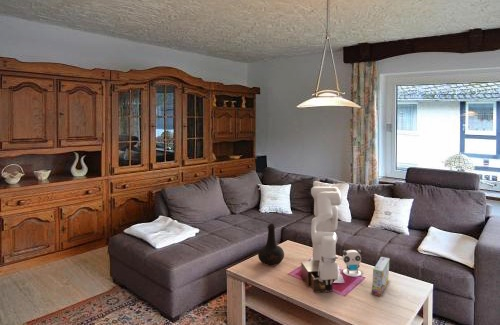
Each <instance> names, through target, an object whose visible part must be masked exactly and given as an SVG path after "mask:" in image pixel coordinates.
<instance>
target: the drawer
mask: <svg viewBox="0 0 500 325" xmlns="http://www.w3.org/2000/svg"><path fill="white" fill-rule="evenodd" d="M317 277H319V276H318V272H315V273H310V285H311V287H310V288H312V292H313V293H320V292H327V290H326V289H325V283H324V282H320V281H319V278H317ZM333 283H334V282H333ZM333 283H332V284H331V291H330V292H332V291H333V288H334V287H333V286H334V284H333Z"/></svg>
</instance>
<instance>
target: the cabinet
mask: <svg viewBox="0 0 500 325" xmlns="http://www.w3.org/2000/svg"><path fill="white" fill-rule="evenodd" d="M319 262H320V260H316V261H310V260H305V261H301V262H300V266H301V267H300V270H301V271H300V273H301V274H300V276H301V278H302V279H303V281H304V283H305V284H306V286H307V287H308V288H312V287H311V285H310V273H315V272H318V268H319Z"/></svg>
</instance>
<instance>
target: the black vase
mask: <svg viewBox="0 0 500 325" xmlns="http://www.w3.org/2000/svg"><path fill="white" fill-rule="evenodd" d="M276 228H277V227H276V225H275V224H274V223H268V225H267V238H266V239H267V240H266V243H265V244H264V245H263V246H261V247H260V248H259V250H258V252H257V257H258V260H259V261H260V262H261V263H262V264H263V265H265V266H270V267H273V266H278V265H280V263H282V261H283V260H284V258H285V252H284V249H283V248H282V247H281V246H280V245H277V241H276V231H275V230H276Z"/></svg>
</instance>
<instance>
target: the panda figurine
mask: <svg viewBox="0 0 500 325" xmlns="http://www.w3.org/2000/svg"><path fill="white" fill-rule="evenodd" d="M341 254H342V261H343V263H344V264H345V266H346V268H344V269H343V270H342V273H343V274H344V275H345V276H347V277H352V278H356V277H357V278H358V277H360V276H361V275H362V272H361V270H359V268H361V267H360V264H361V262H362V254H363V253H362V251H361V249H348V250H345V249H343V250H341Z"/></svg>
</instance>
